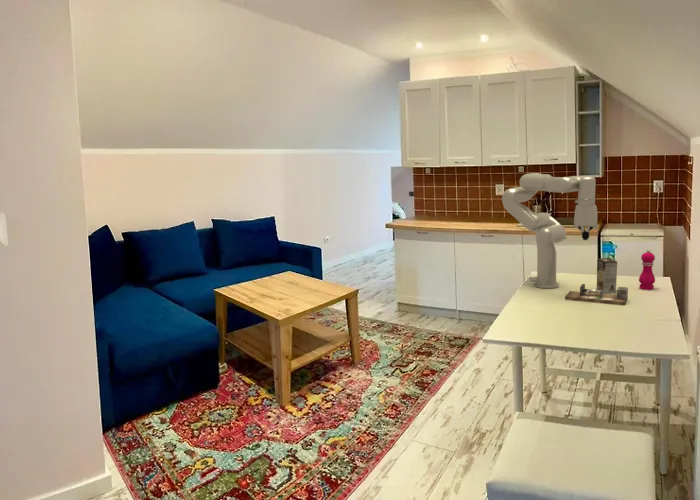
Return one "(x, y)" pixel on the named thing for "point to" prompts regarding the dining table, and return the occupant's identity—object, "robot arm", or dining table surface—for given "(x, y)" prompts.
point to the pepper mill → (647, 271)
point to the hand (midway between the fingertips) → (585, 239)
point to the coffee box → (606, 275)
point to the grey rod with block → (587, 290)
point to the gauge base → (607, 299)
